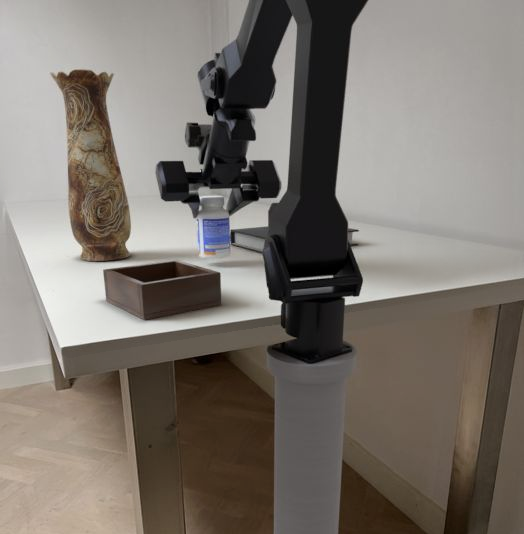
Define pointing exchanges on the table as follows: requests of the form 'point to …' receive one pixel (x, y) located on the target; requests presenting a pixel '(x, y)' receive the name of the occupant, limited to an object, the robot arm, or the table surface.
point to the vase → (93, 168)
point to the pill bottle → (213, 228)
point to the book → (261, 237)
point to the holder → (162, 288)
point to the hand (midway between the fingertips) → (210, 215)
